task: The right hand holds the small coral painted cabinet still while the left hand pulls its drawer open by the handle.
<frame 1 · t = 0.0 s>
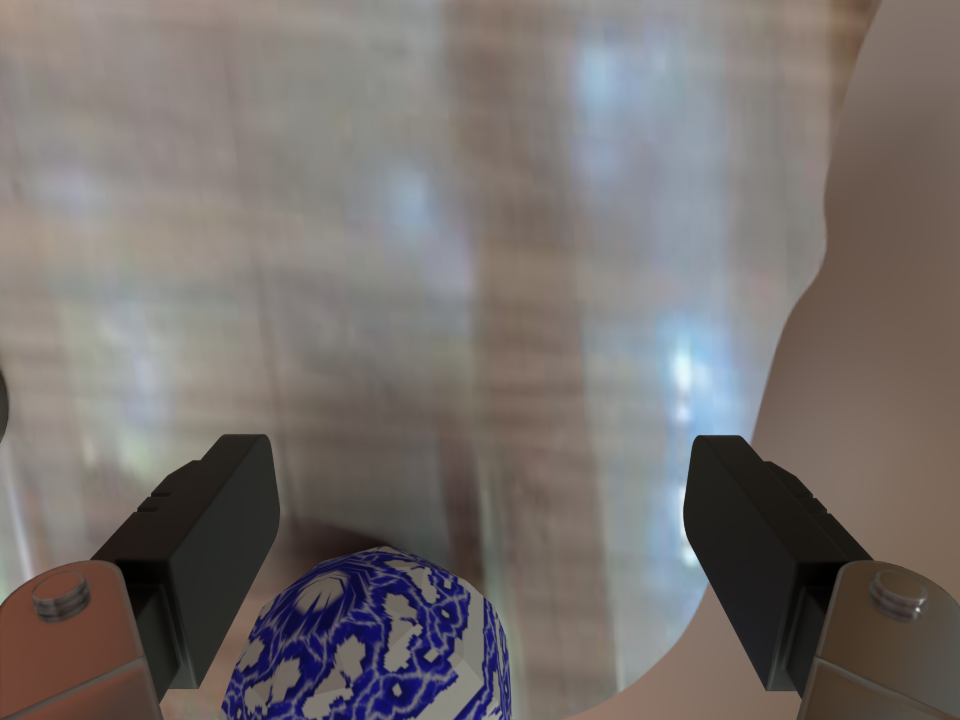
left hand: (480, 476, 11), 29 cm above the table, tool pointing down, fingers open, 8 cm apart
ornament: (394, 598, 49), on the table
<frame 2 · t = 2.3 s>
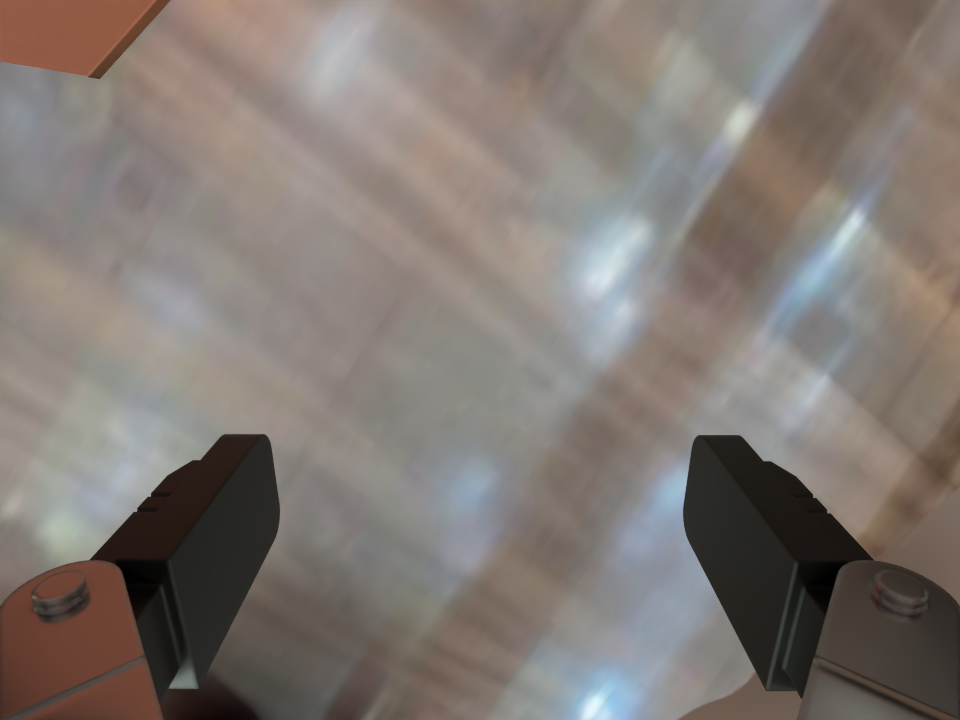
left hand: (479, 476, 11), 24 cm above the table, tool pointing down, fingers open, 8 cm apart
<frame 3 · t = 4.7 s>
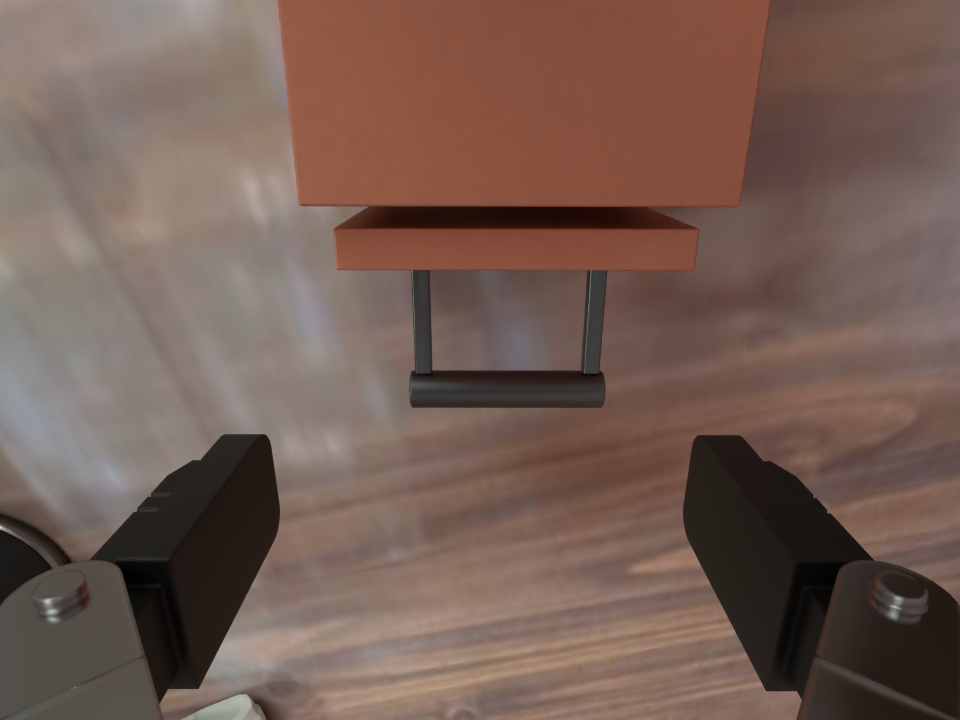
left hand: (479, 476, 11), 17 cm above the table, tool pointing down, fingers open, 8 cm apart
drawer: (511, 54, 19), point 6 cm above the table, slide at 0.7 cm
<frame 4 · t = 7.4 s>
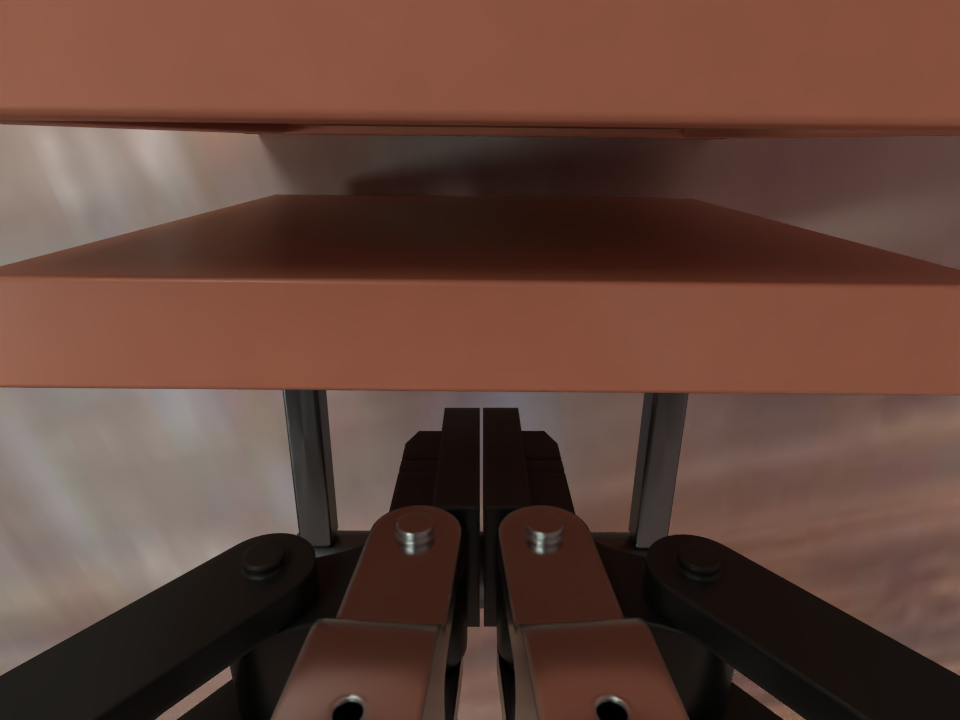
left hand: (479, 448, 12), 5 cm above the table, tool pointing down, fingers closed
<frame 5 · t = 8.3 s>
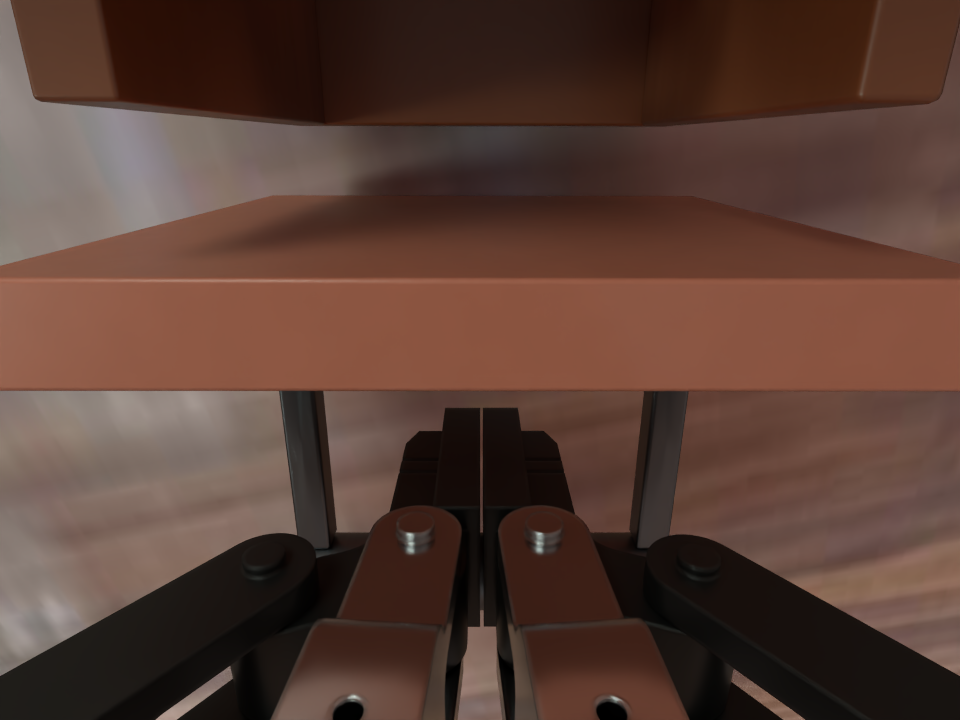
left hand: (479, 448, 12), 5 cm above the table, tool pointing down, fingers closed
when the right hand's fingers open (7 cm above the table, at t = 10.2 s): cabinet stays where it is, on the table.
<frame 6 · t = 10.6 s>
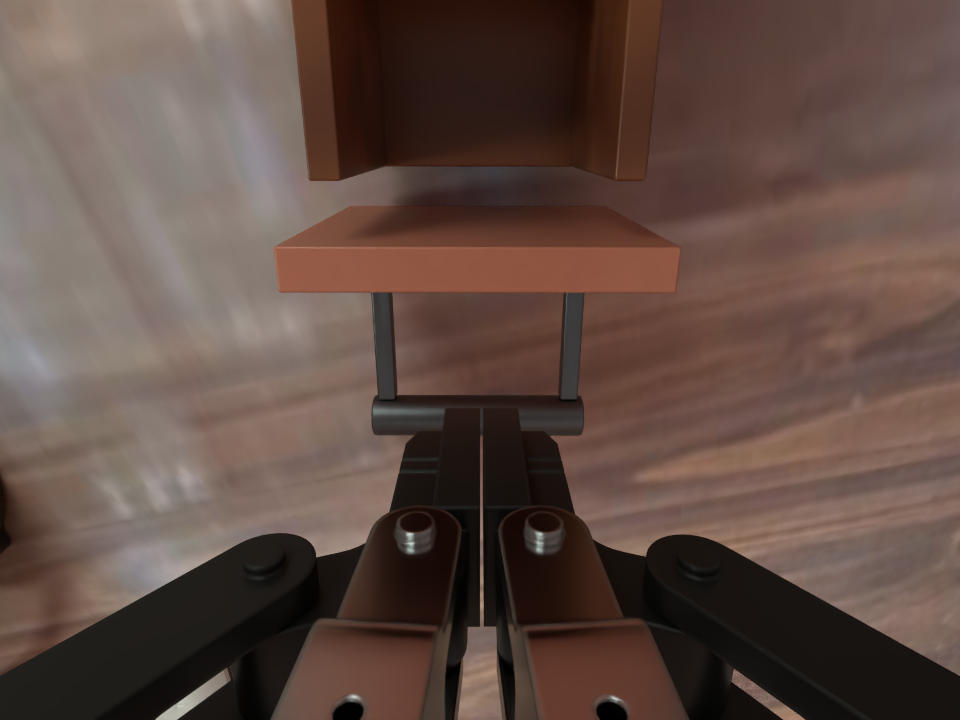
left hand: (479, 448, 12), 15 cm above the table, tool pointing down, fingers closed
drawer: (478, 52, 18), point 6 cm above the table, slide at 7.4 cm
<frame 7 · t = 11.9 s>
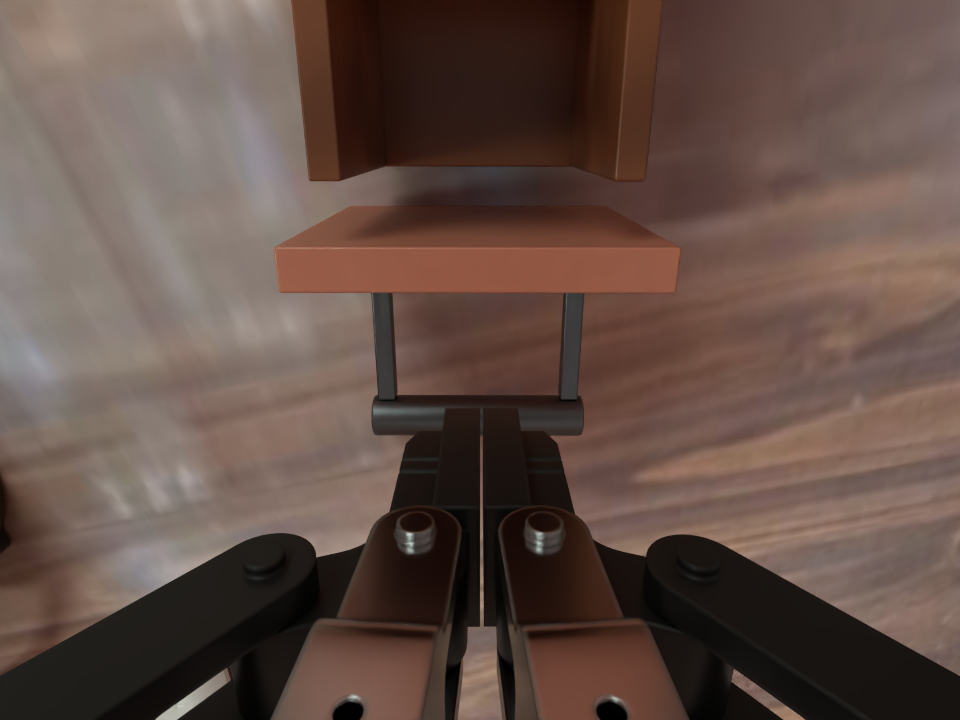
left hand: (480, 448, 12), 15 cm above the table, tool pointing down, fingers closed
drawer: (478, 53, 18), point 6 cm above the table, slide at 7.4 cm
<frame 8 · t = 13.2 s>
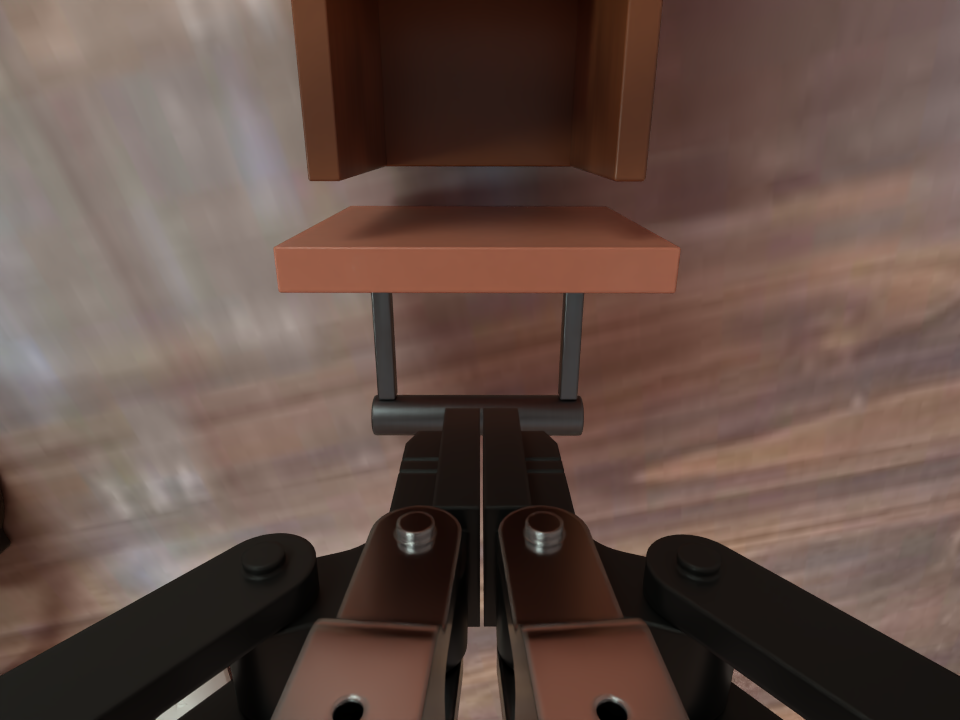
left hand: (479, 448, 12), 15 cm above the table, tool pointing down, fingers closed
drawer: (477, 52, 18), point 6 cm above the table, slide at 7.4 cm
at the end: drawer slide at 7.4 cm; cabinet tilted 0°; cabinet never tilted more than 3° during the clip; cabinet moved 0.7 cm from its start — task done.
